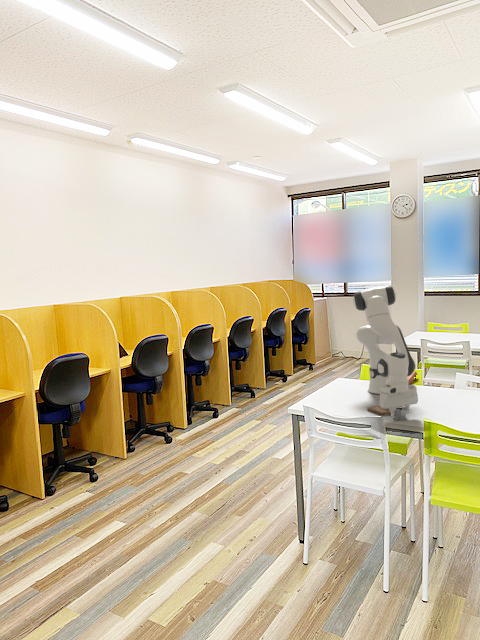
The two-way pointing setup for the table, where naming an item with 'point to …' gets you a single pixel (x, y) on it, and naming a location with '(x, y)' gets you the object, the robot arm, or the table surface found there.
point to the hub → (400, 413)
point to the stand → (379, 410)
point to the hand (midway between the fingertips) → (399, 415)
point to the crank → (411, 377)
